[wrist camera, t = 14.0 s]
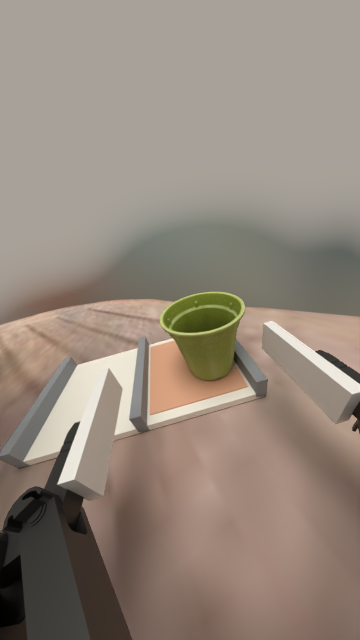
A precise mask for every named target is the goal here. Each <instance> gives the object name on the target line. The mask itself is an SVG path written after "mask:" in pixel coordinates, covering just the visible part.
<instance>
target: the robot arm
mask: <svg viewBox="0 0 360 640" xmlns="http://www.w3.org/2000/svg"><path fill="white" fill-rule="evenodd" d="M262 349H263V350H264V351H265V352H266V353H267V354H268V355H269V356H270V357H271V358H272V359H273V360H274V361H275V362H276V363H277V364H278V365H279V366H280V367H281V368H282V369H283V370H284V371H285V372H286V373H287V374H288V375H289V376H290V378H291V379H292V380H293V381H294V382H295V383H296V384H297V385H298V386H299V387H300V388H301V389H302V390H303V391H304V392H305V393H306V394H307V395H308V396H309V397H310V398H311V399H312V400H313V401H314V402H315V403H316V404H317V405H318V407H319V408H320V409H321V410H322V411H323V412H324V413H325V414H326V415H327V416H328V417H329V418H330V419H331V420H332V421H333V422H334V423H335V424H338V423H341V422H344V421H347V420H349V418H350V417H351V415H352V414H353V415H354V416H355V417H356V418H357V421H356V422H355V424H354V425H353V427H352V431H356V430H357V428H358V429H359V433H360V374H359V373H358V372H356V371H355V370H353V369H352V368H350V367H348V366H347V365H346V364H344V363H343V362H340V361H339V360H338V359H337V358H335V357H334V356H332V355H331V354H329V353H326V352H324V351H321V350H318V351H313V350H312V349H311V348H309V347H308V346H306V345H305V344H304V343H302V342H301V341H300V340H298V339H297V338H295V337H294V336H293V335H291V334H290V333H288V332H287V331H286V330H284V329H283V328H282V327H280V326H279V325H277V324H276V323H275V322H273V321H270V322H266V323H264V324H263V341H262ZM122 390H123V388H122V387H121V385H120V384H119V382H118V381H117V379H116V378H115V376H114V375H113V373H112V372H111V370H110V369H109V368H106V369H102V370H100V371H99V373H98V376H97V379H96V381H95V384H94V387H93V389H92V392H91V395H90V398H89V400H88V403H87V406H86V408H85V411H84V414H83V416H82V419H81V421H79V422H76V423H74V424H73V426H72V427H71V429H70V430H69V431H68V433H67V435H66V438H65V440H64V444H63V445H62V447H61V450H60V454H59V455H58V457H57V460H56V462H55V464H54V467H53V469H52V472H51V474H50V476H49V479H48V481H47V484H46V486H45V488H44V489H43V488H40V487H33V488H30V489H28V490H27V491H26V492H25V493H23V494H22V495H21V496H20V497H19V498H18V500H17V501H16V502H15V503H14V504H13V506H12V508H11V509H10V511H9V512H8V514H7V517H6V519H5V521H4V526H3V530H2V531H0V640H132V638H131V635H130V632H129V630H128V627H127V624H126V621H125V619H124V616H123V613H122V611H121V608H120V605H119V603H118V600H117V597H116V594H115V592H114V589H113V586H112V584H111V581H110V578H109V575H108V573H107V570H106V567H105V565H104V562H103V559H102V557H101V554H100V551H99V548H98V546H97V543H96V540H95V538H94V535H93V532H92V530H91V527H90V524H89V521H88V519H87V516H86V513H85V511H84V509H83V507H82V502H83V498H85V499H87V500H89V501H90V500H93V499H97V498H100V497H103V496H104V491H105V485H106V480H107V474H108V468H109V463H110V457H111V452H112V446H113V440H114V435H115V429H116V424H117V418H118V412H119V407H120V401H121V396H122Z"/></svg>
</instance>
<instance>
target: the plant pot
mask: <svg viewBox="0 0 360 640" xmlns="http://www.w3.org/2000/svg"><path fill="white" fill-rule="evenodd" d="M244 312H245V306H244V303H243V301H242V300H241V299H240V298H239V297H237V296H235V295H232V294H228V293H224V292H207V293H199V294H194V295H191V296H188V297H185V298H182V299H180V300H178V301H176V302H174V303H172V304H171V305H170V306H168V307H167V308H166V309H165V310H164V311H163V313H162V314H161V317H160V324H161V326H162V328H163V329H164V330H165V331H166V332H167V333H169V335H170V336H171V337H172V338H173V339H174V340H175V342H176V344H177V346H178V348H179V350H180V352H181V354H182V356H183V358H184V360H185V362H186V364H187V366H188V368H189V369H190V371H191V373H192V374H193V375H194V376H196V377H197V378H199V379H202V380H208V381H211V380H215V379H217V378H220V377H224V376H226V375H227V374H228V373H229V372H230V371H231V369H232V367H233V360H234V350H235V341H236V332H237V328H238V326H239V322H240V319H241V318H242V317H243V315H244Z"/></svg>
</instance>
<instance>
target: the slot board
mask: <svg viewBox="0 0 360 640" xmlns="http://www.w3.org/2000/svg"><path fill="white" fill-rule="evenodd" d="M106 368H109V369H110V370H111V372H112V373H113V375H114V376H115V378H116V379H117V381H118V382H119V384H120V385H121V387H122V388H123V390H122V396H121V401H120V407H119V412H118V418H117V424H116V429H115V435H114V440H113V441H115V440H118V439H122V438H125V437H128V436H132V435H135V434H139V433H142V432H146V431H149V430H152V429H156V428H159V427H163V426H166V425H170V424H173V423H176V422H180V421H183V420H187V419H190V418H194V417H197V416H200V415H204V414H207V413H211V412H214V411H218V410H221V409H224V408H228V407H231V406H235V405H238V404H242V403H245V402H248V401H252V400H255V399H259V398H262V397H266V391H267V381H268V379H267V378H266V376H265V375H264V374H263V373H262V371H261V370H260V369H259V368H258V366H257V365H256V364H255V362H254V361H253V360H252V359H251V357H250V356H249V355H248V354H247V352H246V351H245V350H244V348H243V347H242V346H241V345H240V343H239V342H238V341H237V340H236V341H235V350H234V360H233V367H232V369H231V371H230V372H229V373H228V374H227V375H226V376H224V377H220V378H217V379H215V380H211V381H208V380H202V379H199V378H197V377H196V376H194V375H193V374H192V373H191V371H190V369H189V368H188V366H187V364H186V362H185V360H184V358H183V356H182V354H181V352H180V350H179V348H178V346H177V344H176V342H175V340H174V339H169V340H165V341H162V342H158V343H155V344H151V345H149V344H148V341H147V339H146V337H142V338H139V342H138V348H137V349H133V350H130V351H126V352H122V353H119V354H115V355H112V356H108V357H104V358H101V359H97V360H94V361H90V362H86V363H83V364H79V365H77V364H76V363H75V362H74V360H73V359H72V358H71V357H70V358H66V359H64V360H63V362H62V363H61V365H60V366H59V368H58V369H57V370H56V372H55V373H54V375H53V376H52V378H51V379H50V381H49V382H48V384H47V385H46V386H45V388H44V389H43V391H42V392H41V394H40V395H39V397H38V398H37V400H36V401H35V402H34V404H33V405H32V407H31V408H30V410H29V411H28V413H27V414H26V415H25V417H24V418H23V420H22V421H21V423H20V424H19V426H18V427H17V429H16V430H15V431H14V433H13V434H12V436H11V437H10V439H9V440H8V442H7V443H6V445H5V446H4V447H3V449H2V450H1V452H0V460H2V461H4V462H7V463H9V464H11V465H13V466H15V467H17V468H22V467H26V466H29V465H32V464H36V463H39V462H43V461H46V460H50V459H53V458H56V457H58V455H59V454H60V450H61V447H62V445H63V444H64V440H65V438H66V435H67V433H68V431H69V430H70V429H71V427H72V426H73V424H74V423H76V422H79V421H81V419H82V416H83V414H84V411H85V408H86V406H87V403H88V400H89V398H90V395H91V392H92V389H93V387H94V384H95V381H96V379H97V376H98V373H99V371H100V370H102V369H106Z"/></svg>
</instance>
